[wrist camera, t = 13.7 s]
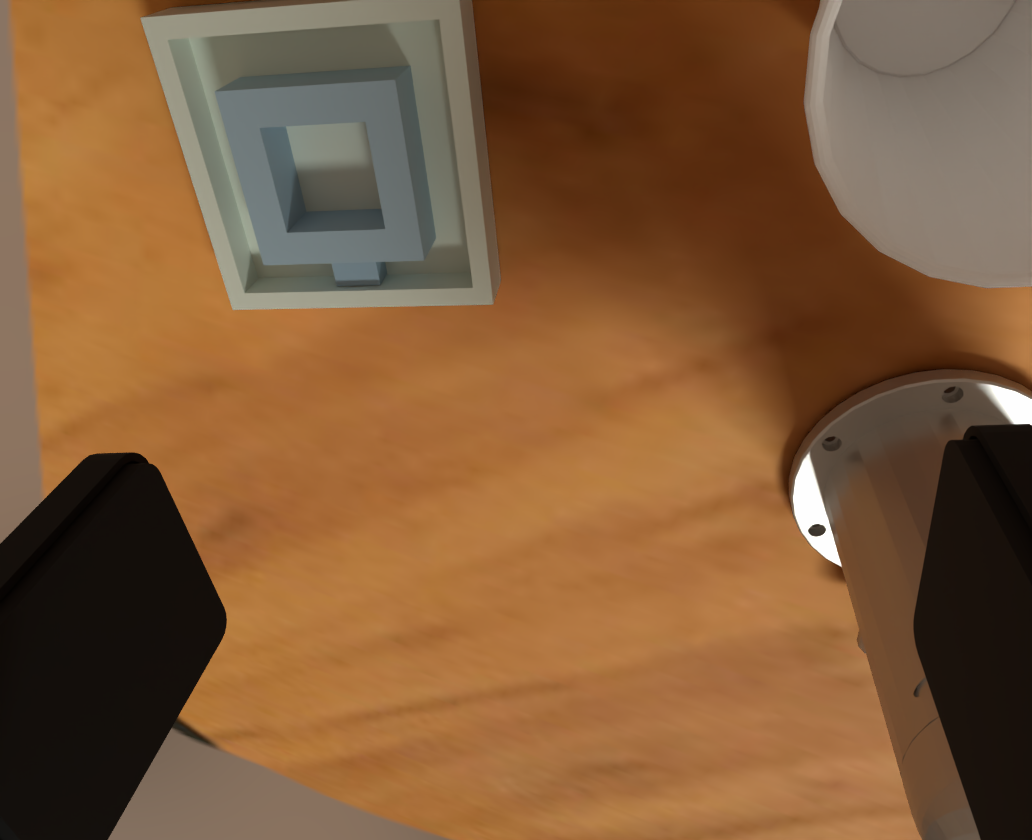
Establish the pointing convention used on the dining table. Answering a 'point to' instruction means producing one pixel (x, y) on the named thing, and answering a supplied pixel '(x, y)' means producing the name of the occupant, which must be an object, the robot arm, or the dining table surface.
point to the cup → (928, 131)
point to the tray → (336, 139)
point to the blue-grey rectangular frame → (275, 185)
